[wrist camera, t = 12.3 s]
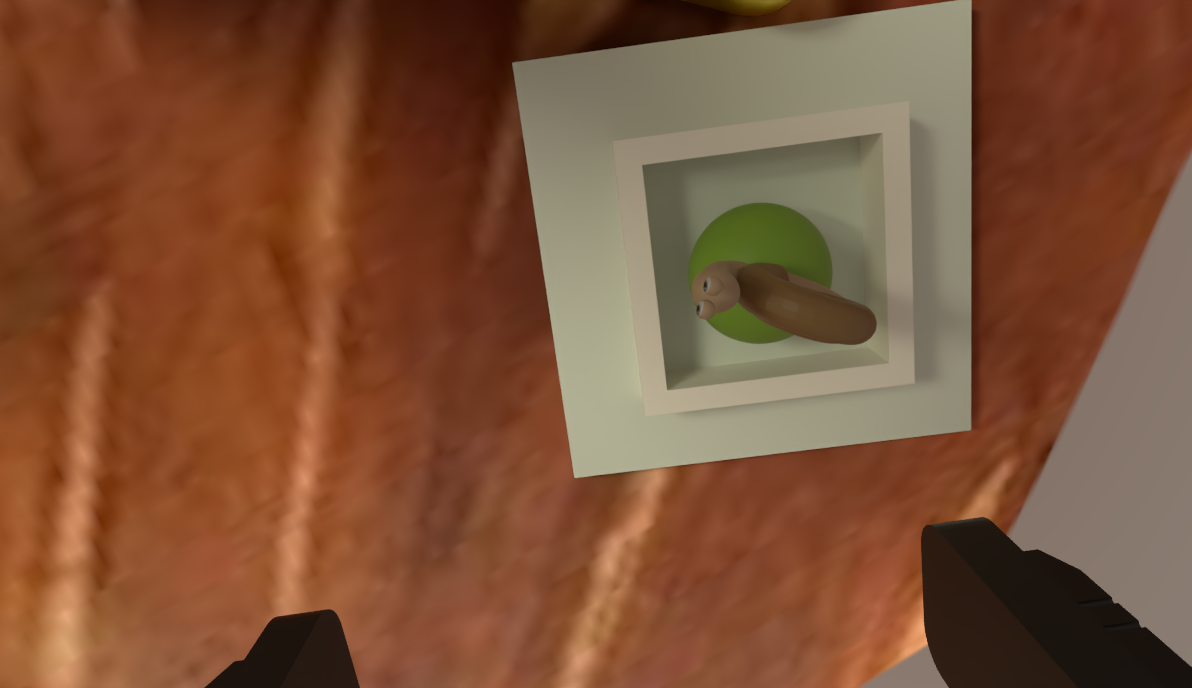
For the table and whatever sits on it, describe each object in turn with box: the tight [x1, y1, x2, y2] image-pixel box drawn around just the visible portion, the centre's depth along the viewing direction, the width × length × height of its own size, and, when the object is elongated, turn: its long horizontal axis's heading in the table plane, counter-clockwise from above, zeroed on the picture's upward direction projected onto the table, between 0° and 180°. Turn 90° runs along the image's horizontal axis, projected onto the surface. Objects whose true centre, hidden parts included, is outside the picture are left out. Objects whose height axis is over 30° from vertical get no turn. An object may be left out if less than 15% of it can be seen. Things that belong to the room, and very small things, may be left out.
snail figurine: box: [688, 203, 877, 345], centre depth 25 cm, size 5×6×12 cm
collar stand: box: [512, 0, 972, 478], centre depth 30 cm, size 18×18×4 cm
